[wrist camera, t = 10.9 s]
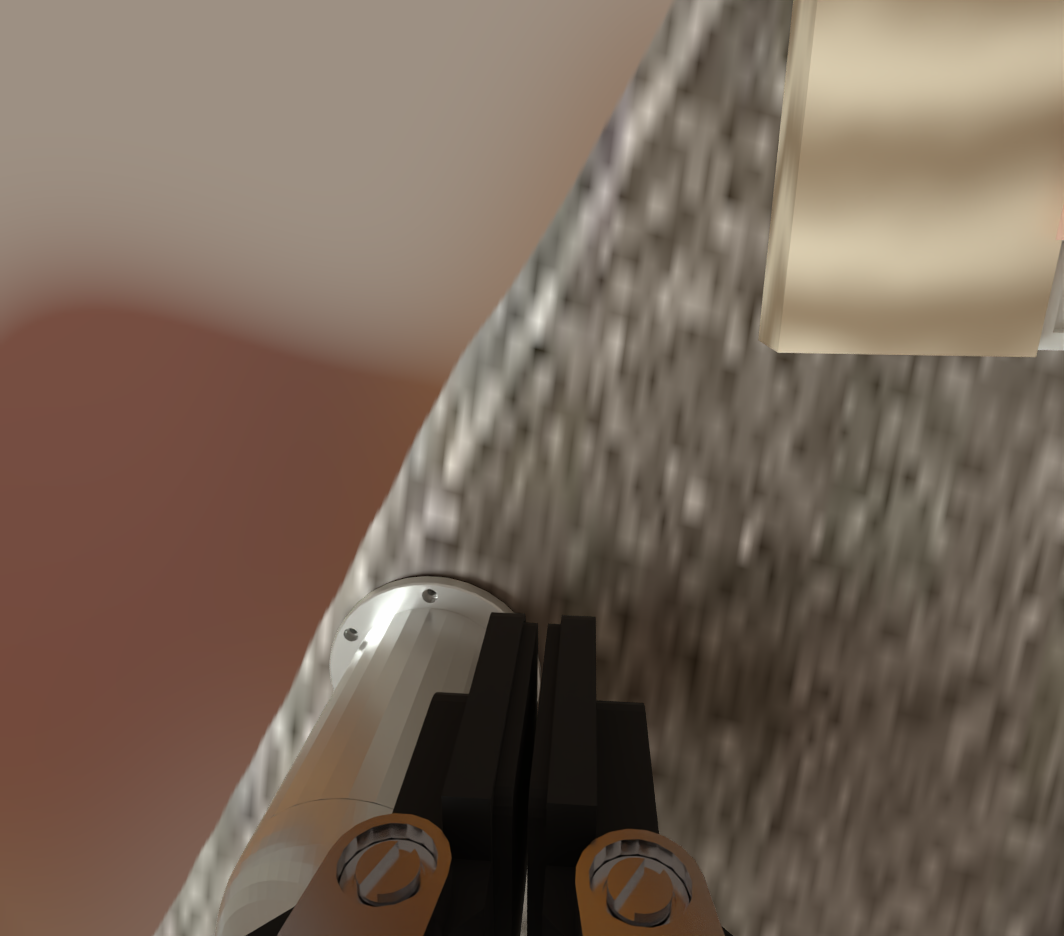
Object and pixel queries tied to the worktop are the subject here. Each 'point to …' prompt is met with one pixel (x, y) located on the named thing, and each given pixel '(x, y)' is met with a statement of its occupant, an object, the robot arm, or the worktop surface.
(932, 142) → the beige rectangular block
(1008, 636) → the worktop surface
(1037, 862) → the worktop surface
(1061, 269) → the box
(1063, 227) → the tile
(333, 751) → the robot arm
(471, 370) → the worktop surface
